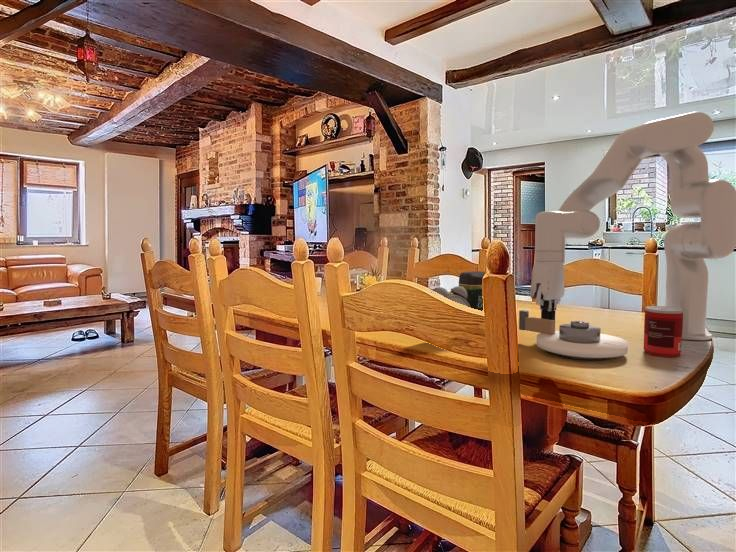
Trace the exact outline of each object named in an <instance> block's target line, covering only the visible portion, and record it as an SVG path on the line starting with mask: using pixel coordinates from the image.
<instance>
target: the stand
mask: <svg viewBox="0 0 736 552" xmlns="http://www.w3.org/2000/svg"><path fill="white" fill-rule="evenodd" d="M550 353H551V354H552V355H555V356H558V357H561V358H565V359H571V360H578V361H605V360H610V359H612V358H613V357H610V358H588V357H576V356H569V355H562V354H557V353H553V352H550Z"/></svg>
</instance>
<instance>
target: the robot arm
mask: <svg viewBox="0 0 736 552" xmlns="http://www.w3.org/2000/svg"><path fill="white" fill-rule="evenodd" d="M714 127H715V125H714V121H713V119H712V117H711V116H710V115H709V114H707V113H705V112H702V111H692V112H687V113H683V114H679V115H674V116H669V117H666V118H660V119H656V120H651V121H647V122H644V123H642V124H638V125H636V126H633V127H630V128H627V129H626V130H624V131H622V132H621V133H620V134H619V135H618V136H617V137H616V138H615V141H614V142H613V143H612V145H611V146H610V148H609V149H608V150H607V152H606V153H605V154H604V156H603V158H602V159H601V161H600V162H599V163H598V165H597V167H596V168H595V169H594V170H593V172H592V173H591V174H590V175H589V176H588V177H587V178H586V179H584V180H583V181H582V182H581V183H580V185H578V186H577V188H575V189H574V190H573V191H572V192H571V193H570V194H569V195H568V197H567V198H566V199H565V200H564V201H563V203H562V204H561V206H560V207H559V209H558V210H550V211H549V210H546V211H539V212H538V213H537V214H536V215H535V225H534V226H535V227H534V228H535V231H534V233H535V234H534V263H533V267H532V272H531V282H530V292H529V293H530V298H531V300H535V305H538V306H539V309H540V311H541V312H540V313H541V314H540V318H542V319H549V320H555V321H556V311H557V308H558V307H557V305H558V303H560V302H561V299H562V298H563V297H564V295H565V288H566V287H565V284H566V279H565V265H564V264H565V259H566V258H565V257H566V251H565V250H566V239H577V240H579V239H581V240H582V239H588V238H591V237H593V236H594V235H596V234H597V232H598V231H599V230H600V226H601V221H600V218H599V216H598V215H597V214H596V213H595V212H593V211H592V209H594V207H596V205H598V204H599V203H601V202H603V201H605V200H606V199H608V198H610V197H611V196H614V195H615V194H617V193H618V192H619V191H621V190H622V189H623V188H624V187H625V185H626V184H627V182H628V181H629V179H630V178H631V176H632V175H633V174H634V172H635V171H636V169H637V167H638V166H639V165H640V163H641V162H642V161H643V159H644V158H647V157H652V156H654V155H659V156H661V157H662V158H663V159H664V160H665V162H666V164H667V165H668V167H669V174H670V183H669V185H670V186H669V187H670V190H669V191H670V192H669V193H670V197H669V198H670V203H669V204H670V205H669V206H670V210H671V213H672V214H673V215H674V216H675V217H677V218H678V217H679V218H684V219H695V218H700V222H687V223H686V222H685V223H680V224H677V225H676V224H675V225H674V226H672V227H670V229H668V230H667V232H666V233H665V236H664V238H663V249H664V253H665V261H666V281H665V282H666V284H665V298H664V299H665V300H664V301H665V304H664V306H667V307H675V308H680V309H683V329H682V340H685V341H710V340H712V339H713V334H712V333H711V332H708V331H706V329H707V327H706V326H707V325H706V324H707V311H708V310H707V308H708V307H707V306H708V290H709V289H708V288H709V271H708V266H707V264H706V261H705V260H704V259H711V260H712V259H713V260H714V259H715V260H717V259H718V260H719V259H723V258H726V257H729V255H731V254H732V253H733V252H734V250H735V248H736V188H735V187H734V185H733V184H731V182H730V181H727V180H725V179H718V178H717V179H715V178H714V179H709V164H708V163H709V162H708V158H707V157H706V154H705V153H704V152H703V150H702V149H701V148H700V147H699V146H700V145H703V144H704V143H706V142H708V140H709V139H710V137H712V135H713V132H714Z"/></svg>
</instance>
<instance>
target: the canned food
mask: <svg viewBox="0 0 736 552" xmlns="http://www.w3.org/2000/svg"><path fill="white" fill-rule="evenodd" d="M644 309H645V310H644V319H643V320H644V322H643V323H644V325H643V327H644V328H643V351H644V353H645V354H648V355H650V356H655V357H659V356H660V357H661V358H678V357H680V356H681V353H682V347H683V345H682V344H683V341H682V340H683V339H682V329H683V309H680V308H675V307H667V306H665V305H664V306H662V305H649V306H645V308H644ZM660 357H659V358H660Z"/></svg>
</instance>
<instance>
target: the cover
mask: <svg viewBox="0 0 736 552" xmlns="http://www.w3.org/2000/svg"><path fill="white" fill-rule="evenodd" d="M558 329H559V330H558V331H559V339H560V340H563V341H566V342H571V343H580V344H594V343H599V342H600V334H602V333H601V329H602V328H600V327H599V326H596V325H591V324H590V322H588V321H583V320H572V321H570V323H565V324H559V328H558Z"/></svg>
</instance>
